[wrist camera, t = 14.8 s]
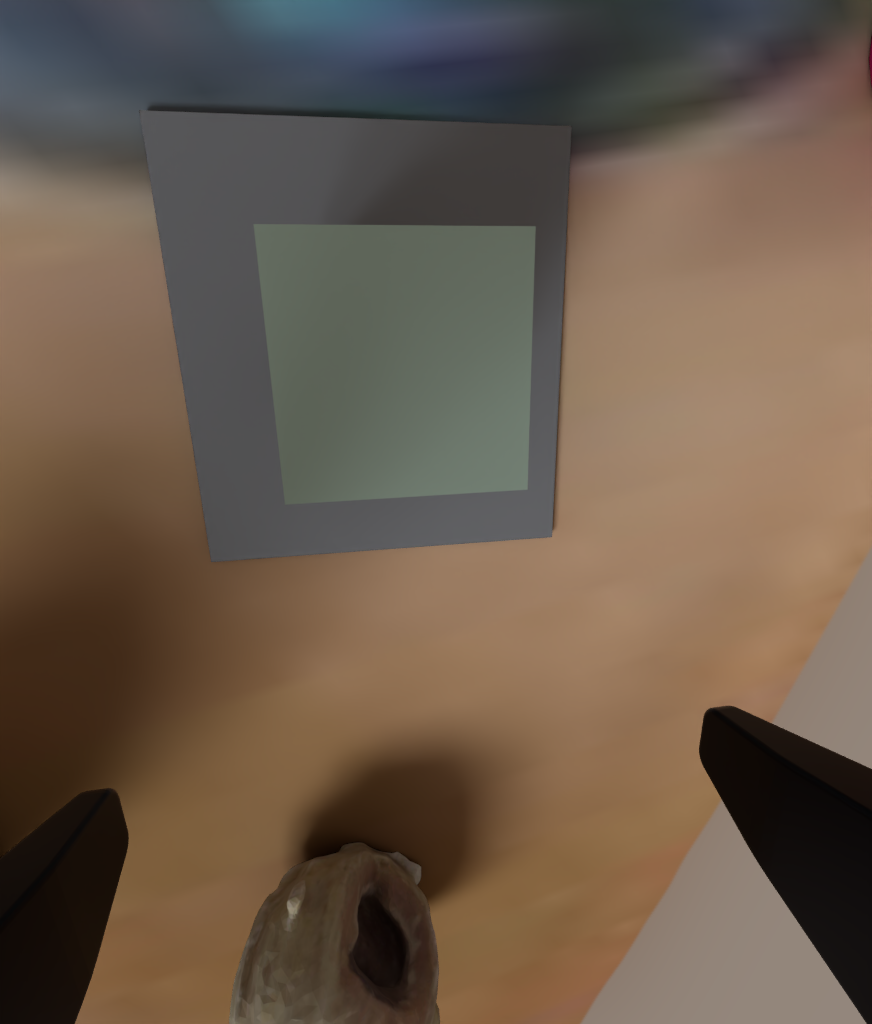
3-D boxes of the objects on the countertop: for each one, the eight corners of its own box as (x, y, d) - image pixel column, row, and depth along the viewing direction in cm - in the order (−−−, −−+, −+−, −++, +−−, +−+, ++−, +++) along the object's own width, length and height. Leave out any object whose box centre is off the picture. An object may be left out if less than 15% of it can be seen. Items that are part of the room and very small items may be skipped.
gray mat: (549, 534, 21) (552, 537, 21) (213, 558, 20) (210, 563, 19) (568, 129, 17) (572, 124, 17) (142, 114, 15) (137, 108, 15)
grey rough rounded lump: (403, 881, 29) (461, 1154, 21) (238, 926, 26) (237, 1256, 19) (426, 791, 24) (514, 1110, 16) (224, 835, 21) (214, 1243, 14)
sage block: (475, 447, 14) (527, 489, 10) (306, 455, 14) (285, 504, 10) (475, 265, 13) (535, 226, 9) (287, 266, 12) (253, 224, 8)
